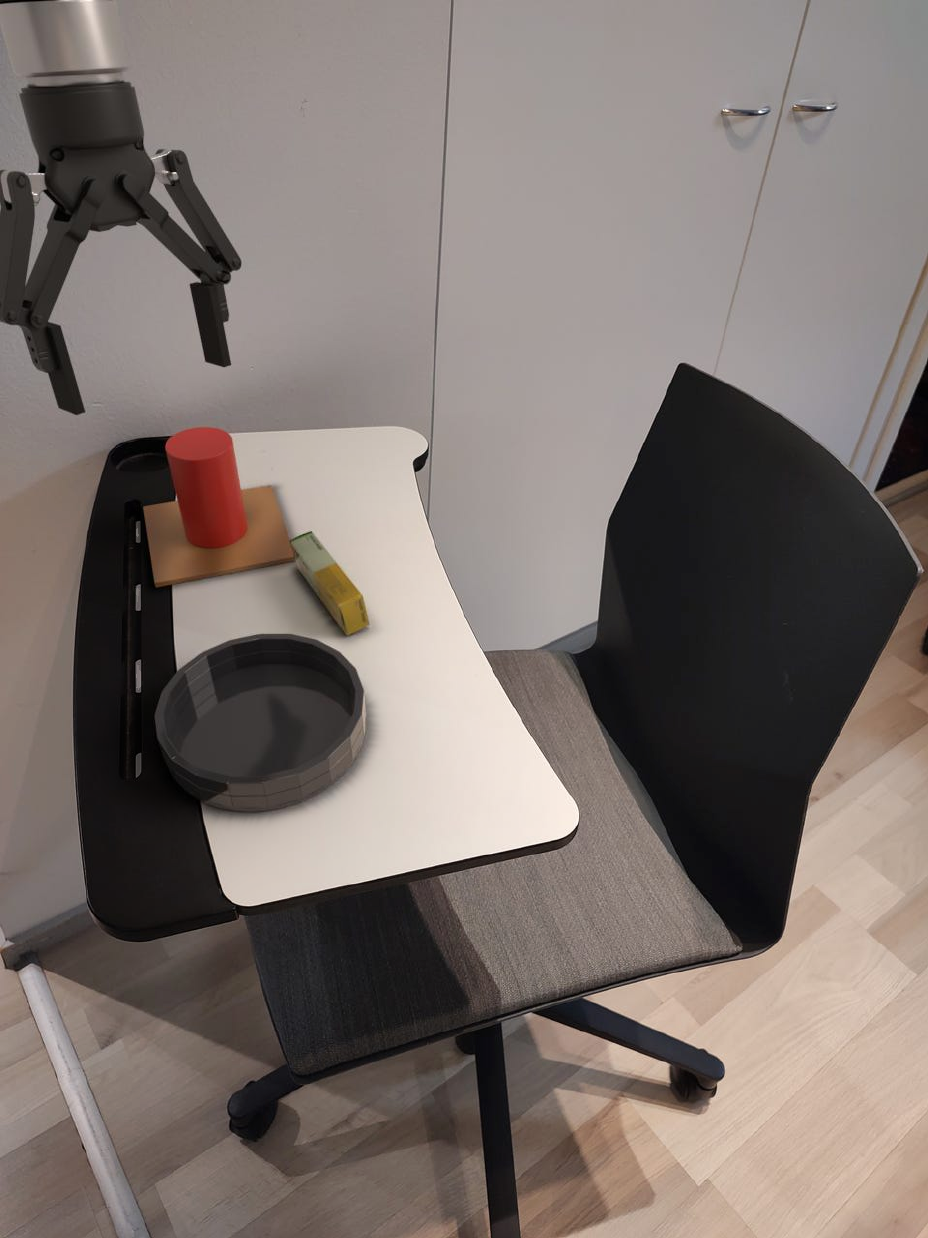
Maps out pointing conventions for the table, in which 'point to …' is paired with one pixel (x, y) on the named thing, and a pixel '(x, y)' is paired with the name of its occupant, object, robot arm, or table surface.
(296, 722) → the pan
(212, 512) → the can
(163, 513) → the mat
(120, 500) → the table surface
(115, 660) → the table surface
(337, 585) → the medication box
